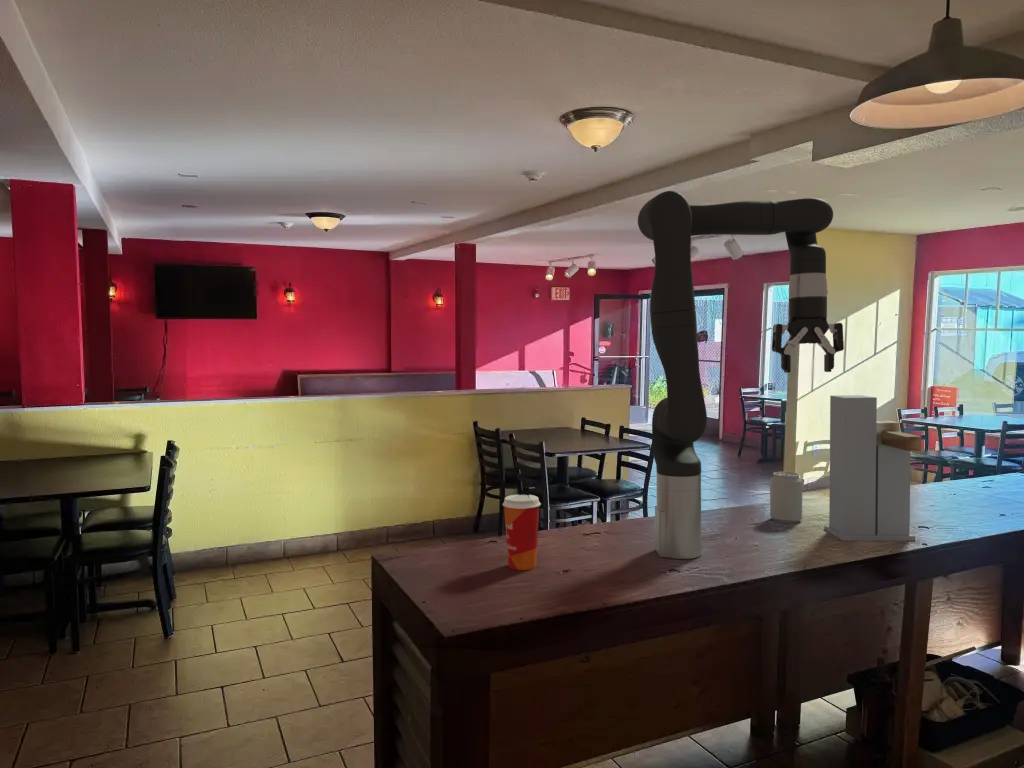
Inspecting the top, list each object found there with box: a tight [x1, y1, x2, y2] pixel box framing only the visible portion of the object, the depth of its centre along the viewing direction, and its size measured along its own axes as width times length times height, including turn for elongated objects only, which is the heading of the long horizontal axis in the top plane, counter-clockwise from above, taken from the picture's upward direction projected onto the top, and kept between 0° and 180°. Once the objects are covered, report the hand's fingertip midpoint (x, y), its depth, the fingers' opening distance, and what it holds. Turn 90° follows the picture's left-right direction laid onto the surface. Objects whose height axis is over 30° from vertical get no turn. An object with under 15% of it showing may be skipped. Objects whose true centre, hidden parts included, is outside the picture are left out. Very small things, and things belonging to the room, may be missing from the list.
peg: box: [876, 420, 922, 452], centre depth 158 cm, size 5×16×5 cm, turn 178°
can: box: [769, 471, 803, 524], centre depth 178 cm, size 8×8×12 cm
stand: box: [824, 394, 916, 542], centre depth 162 cm, size 16×10×32 cm, turn 87°
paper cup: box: [502, 494, 542, 571], centre depth 143 cm, size 8×8×14 cm
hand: (807, 372), depth 151 cm, fingers open, 8 cm apart
